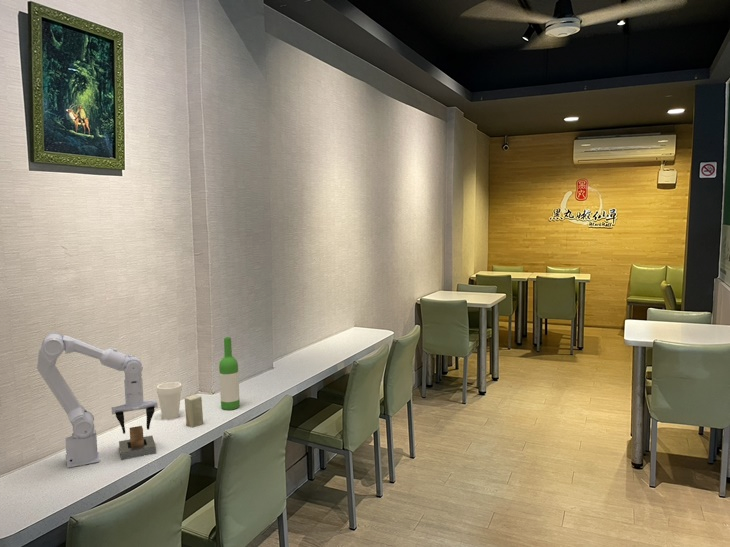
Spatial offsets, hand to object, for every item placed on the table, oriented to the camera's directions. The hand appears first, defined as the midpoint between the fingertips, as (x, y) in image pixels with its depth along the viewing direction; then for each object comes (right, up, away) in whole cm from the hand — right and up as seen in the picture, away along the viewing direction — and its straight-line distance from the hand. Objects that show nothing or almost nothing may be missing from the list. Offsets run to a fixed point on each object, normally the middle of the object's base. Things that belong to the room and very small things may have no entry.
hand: (136, 430), depth 193 cm
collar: (0, -7, +1) cm, 7 cm away
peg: (0, -7, +1) cm, 7 cm away
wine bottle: (+22, -3, +44) cm, 49 cm away
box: (+13, -5, +25) cm, 28 cm away
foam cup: (0, -4, +34) cm, 34 cm away
